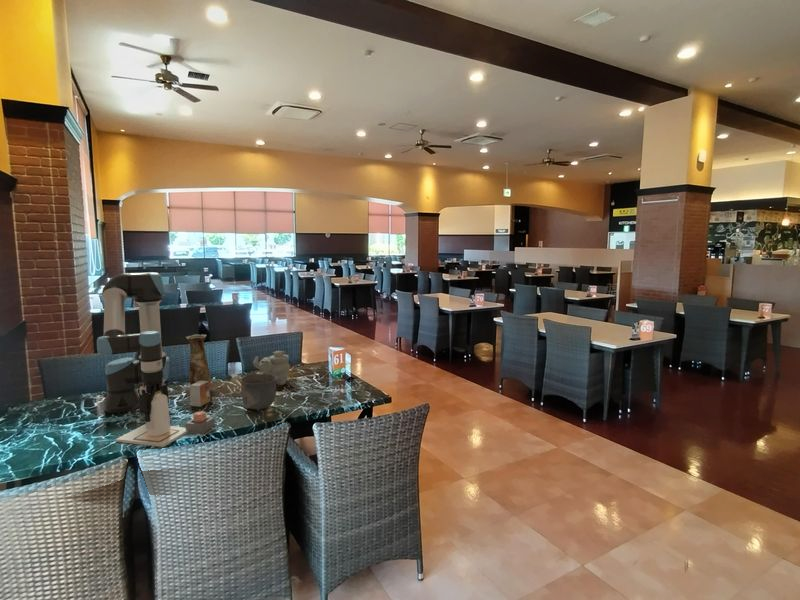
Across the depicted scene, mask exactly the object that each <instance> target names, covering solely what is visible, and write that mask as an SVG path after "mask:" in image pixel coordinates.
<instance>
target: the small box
mask: <svg viewBox="0 0 800 600" xmlns="http://www.w3.org/2000/svg"><path fill="white" fill-rule="evenodd" d="M210 384H211V383H210ZM210 384H209V381H198V382H196V383H194V384H192V385H190V384H189V397H190V406H191V407H203V406H204V405H207V404H208V403H210V402H211V387H210V386H211V385H210Z"/></svg>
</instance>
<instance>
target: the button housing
mask: <svg viewBox="0 0 800 600" xmlns="http://www.w3.org/2000/svg"><path fill="white" fill-rule="evenodd" d="M184 428H186V430H188V433H191V434H197V435H198V434H200V435H203V434H206V433H207V432H208V431H209V430H211V429H213V428H215V417H213V416H212V417H211V416H206V421H205V422H203V423H194V422H193V418H192V419H190V420H188V421H186V422H185V427H184ZM188 433H187V434H188Z"/></svg>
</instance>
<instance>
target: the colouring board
mask: <svg viewBox="0 0 800 600" xmlns="http://www.w3.org/2000/svg"><path fill="white" fill-rule="evenodd" d="M186 434H188V430H186V427H183V426H173V425H170V431H169V432H167V433H166V434H164V435H160V436H150V435H149V434H148V431H147V429H146V423H145V424H143V425H141V426H139V427H137V428H135V429H133V430H131V431H129V432H127V433H125V434H123V435H121V436H119V437H117V438H115V442H118V443H124V444H135V445H141V446H142V445H143V446H149V447H160V448H164V447H167V446H168V445H169V444H171V443H173V442H175V441H177V440H178V439H180V438H181V437H183V436H184V435H186Z"/></svg>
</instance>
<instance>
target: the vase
mask: <svg viewBox="0 0 800 600" xmlns="http://www.w3.org/2000/svg"><path fill="white" fill-rule="evenodd" d="M185 338H186V340H188V342H189V346H190V347H189V349H190V351H189V370H188V371H189V372H188V381H189V386H190V385H192V384H194V383H196V382H198V381H209V384H211V372H210V368H209V365H208V364H209V362H208V359H207V355H206V350H205V343H204V342H205V339H206V338H207V334H203V333H202V334H199V333H198V334H192V335H188V336H185Z"/></svg>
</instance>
